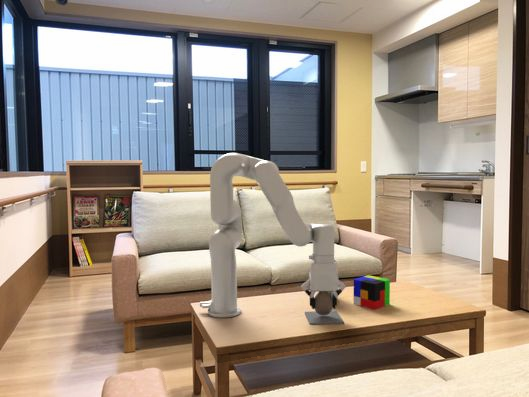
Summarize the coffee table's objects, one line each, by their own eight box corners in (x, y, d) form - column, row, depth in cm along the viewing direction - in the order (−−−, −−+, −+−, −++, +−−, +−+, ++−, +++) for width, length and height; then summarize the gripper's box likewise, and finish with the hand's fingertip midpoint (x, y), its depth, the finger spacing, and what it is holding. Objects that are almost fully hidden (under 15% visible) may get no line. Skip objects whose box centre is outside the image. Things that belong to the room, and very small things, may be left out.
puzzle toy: (353, 304, 168) (353, 279, 167) (368, 299, 174) (368, 275, 174) (375, 310, 160) (375, 284, 160) (389, 304, 167) (389, 279, 166)
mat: (309, 324, 145) (309, 323, 145) (304, 313, 157) (304, 311, 157) (344, 323, 146) (344, 322, 146) (336, 312, 158) (336, 310, 158)
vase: (332, 317, 147) (332, 292, 147) (312, 315, 149) (312, 291, 148) (333, 310, 154) (333, 287, 154) (314, 309, 155) (314, 286, 155)
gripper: (300, 261, 146) (300, 311, 147) (350, 260, 147) (349, 310, 148) (297, 256, 153) (297, 304, 155) (345, 256, 154) (344, 304, 155)
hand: (323, 307), depth 151 cm, fingers closed on vase, 6 cm apart
